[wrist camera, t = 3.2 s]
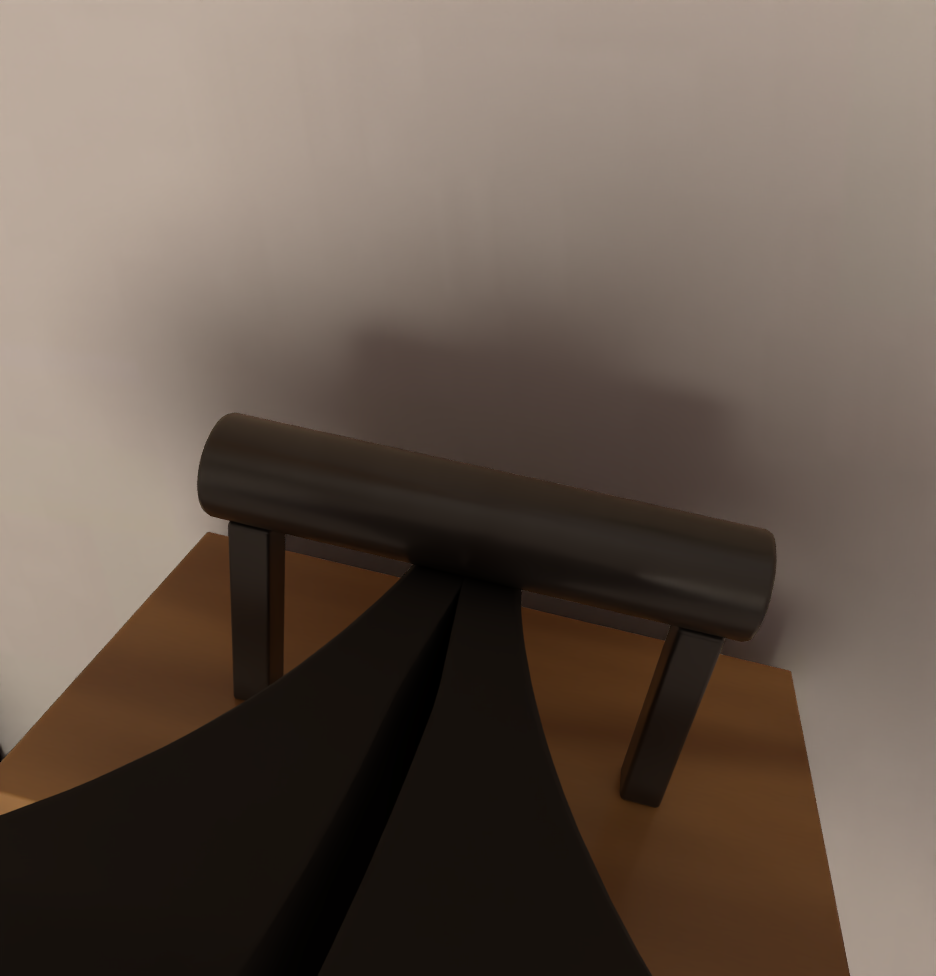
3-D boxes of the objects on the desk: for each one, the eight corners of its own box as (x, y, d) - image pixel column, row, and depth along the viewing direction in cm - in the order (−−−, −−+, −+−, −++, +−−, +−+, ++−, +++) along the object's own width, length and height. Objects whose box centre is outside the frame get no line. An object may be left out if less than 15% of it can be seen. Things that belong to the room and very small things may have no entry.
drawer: (196, 301, 13) (-112, 484, 8) (897, 444, 12) (1075, 772, 7) (226, 917, 23) (92, 1187, 18) (622, 1034, 22) (608, 1364, 16)
